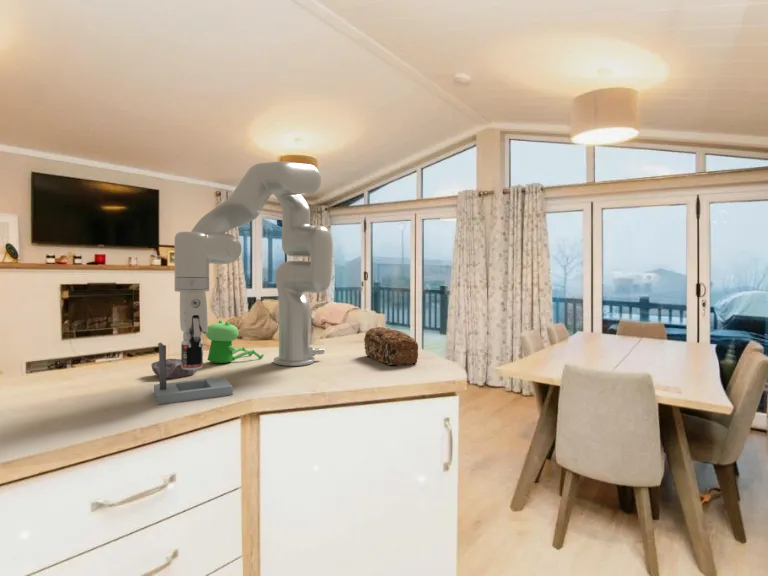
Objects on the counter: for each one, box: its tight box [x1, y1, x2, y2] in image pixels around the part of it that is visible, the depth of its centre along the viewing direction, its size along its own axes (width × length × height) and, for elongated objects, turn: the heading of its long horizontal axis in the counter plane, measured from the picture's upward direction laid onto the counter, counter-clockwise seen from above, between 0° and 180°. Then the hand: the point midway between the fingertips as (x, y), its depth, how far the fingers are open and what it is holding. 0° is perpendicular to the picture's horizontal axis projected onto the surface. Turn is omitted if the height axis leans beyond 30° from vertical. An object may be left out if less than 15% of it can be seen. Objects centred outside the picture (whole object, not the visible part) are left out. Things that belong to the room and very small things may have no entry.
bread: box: [363, 326, 419, 366], centre depth 152 cm, size 19×11×10 cm, turn 28°
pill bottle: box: [180, 332, 204, 370], centre depth 110 cm, size 5×5×8 cm
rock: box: [151, 358, 197, 379], centre depth 128 cm, size 8×11×5 cm
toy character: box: [205, 319, 265, 364], centre depth 148 cm, size 10×18×13 cm, turn 136°
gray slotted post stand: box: [153, 342, 234, 405], centre depth 111 cm, size 16×10×12 cm, turn 121°
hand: (192, 361), depth 110 cm, fingers closed on pill bottle, 4 cm apart
